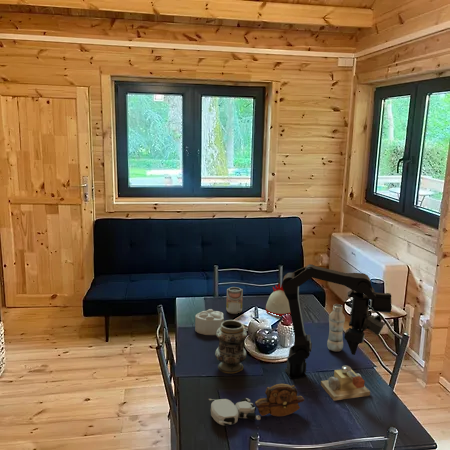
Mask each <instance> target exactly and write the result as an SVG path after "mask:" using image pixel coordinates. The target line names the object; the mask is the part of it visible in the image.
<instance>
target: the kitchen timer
mask: <svg viewBox="0 0 450 450" xmlns="http://www.w3.org/2000/svg"><path fill="white" fill-rule="evenodd" d="M272 290H273V292H272V293H271V294H270V295H269V296H268V299H267V301H266V305H265V312H266V311H267V312H270V313H273V314H276V315H279V316H282V315H284V314H287V313H288V314H291V313H290V307H289V302H288V299H287V297H286V295H285V293H284V290H283V288H282V284H280V283H278V285H275V287H274V286H272ZM267 312H266V313H267Z"/></svg>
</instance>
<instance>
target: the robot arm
mask: <svg viewBox="0 0 450 450" xmlns="http://www.w3.org/2000/svg"><path fill="white" fill-rule="evenodd" d="M370 278H371V277H370V276H369V275H368V274H366V273H363V272H362V273H361V272H343V271H338V270H334V269H330V268H327V267H322V266H321V267H320V266H317V265H315V264H310V263H309V264H307V265H306V266H304V267H301V268H299V269H297V270H295V271H293V272H287V273H286V274H285V275H284V276H283V279H282V283H281V285H282V288H283V290H284V293H285V295H286V297H287V299H288V302H289V307H290V313H291V315H290V317H291V323H292V329H293V335H294V337H293V345H292V346H291V347H289V351H288V356H287V358H286V368H285V369H284V371H285V373H286V374H287V376H288V377H289V379H291V380H293V379H298V378H299V379H300V378H306V377H307V374H306V372H307V362H306V360H307V359H308V358H309V357H310V354H311V353H310V352H312V347H313V346H312V345H313V343H312V341H311V334H307V333H306V330H305V326H304V320H303V315H302V310H301V304H300V298H299V297H300V296H299V294H300V287H301V286H302V285H304V284H305V283H306V282H307V281H309V280H310V279H315V280H319V281H324V282H327V283H333V284H336V285H337V284H338V285H341V286H344V287H346V288H348V289H350V290H349V291H347V297H348V298H352V299H351V302H352V303H351V309H350V313H349V316H350V320H349V322H348V326H349V328H347V329H345V332H344V337H343V338H344V340H345V341H346V343H347V344H348V345H347V346H348V347H349V350H350V353H351V355H353V356H354V355H356V353H357V350H358V347H359V344H362V343H363V342H364V340H365V336H366V334H365V331H366V330H367V329H368V330H369V331H371V332H372V333H374V334H376V335H380V334H381V331H382V330H383V328H384V326H385V323H384V321H382V316H381V315H379V314H377V315H375V316H371V315H370V311H369V308H370V309H372V310H373V312H376V313H377V312H378V313H385V314H391V313H392V308H393V307H392V306H393V305H392V294H391V293H389V292H385V293H384V292H376V291H375V289H374V287H373V286H372V282H371V279H370ZM369 304H370V305H369Z"/></svg>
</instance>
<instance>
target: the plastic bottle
mask: <svg viewBox="0 0 450 450" xmlns="http://www.w3.org/2000/svg"><path fill="white" fill-rule="evenodd" d="M345 322H346V317H345V314H344V313H343V305H342V304H338V303H335V304H333V307H332V311H331V312H330V314H329V316H328V323H329V324H328V325H329V330H328V331H329V332H328V338H327V341H326V346H327V348H328V350H329V351H331V352H336V353H337V352H341V351H342V350H343V348H344V340H343V338H344V337H343V332H344V325H345Z"/></svg>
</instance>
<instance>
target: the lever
mask: <svg viewBox="0 0 450 450" xmlns="http://www.w3.org/2000/svg"><path fill="white" fill-rule="evenodd" d="M341 369H342V373H344V374H347V375H348V376H349V377H350V378H351V379H352V380H353V383H352V384H353V385H354V386H355V387H356V388H363V387H364V386H365V383H366V381H365V380H364V378H363V377H362V376H361V377H362V378H361V377H360V376H356V375H355V374H354V373H353V372H352V371H351V369H352V367H351V366H349V365H342V366H341Z"/></svg>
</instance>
